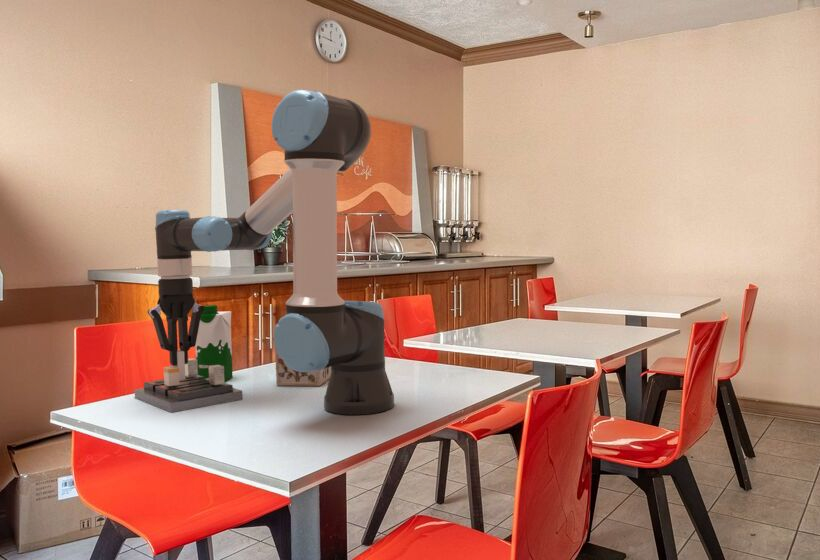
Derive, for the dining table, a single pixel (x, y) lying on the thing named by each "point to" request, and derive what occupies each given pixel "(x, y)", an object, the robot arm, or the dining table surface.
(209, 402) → the breaker panel
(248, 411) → the dining table surface
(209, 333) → the milk carton
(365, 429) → the dining table surface
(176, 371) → the toggle
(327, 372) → the decorative jar
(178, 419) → the dining table surface
